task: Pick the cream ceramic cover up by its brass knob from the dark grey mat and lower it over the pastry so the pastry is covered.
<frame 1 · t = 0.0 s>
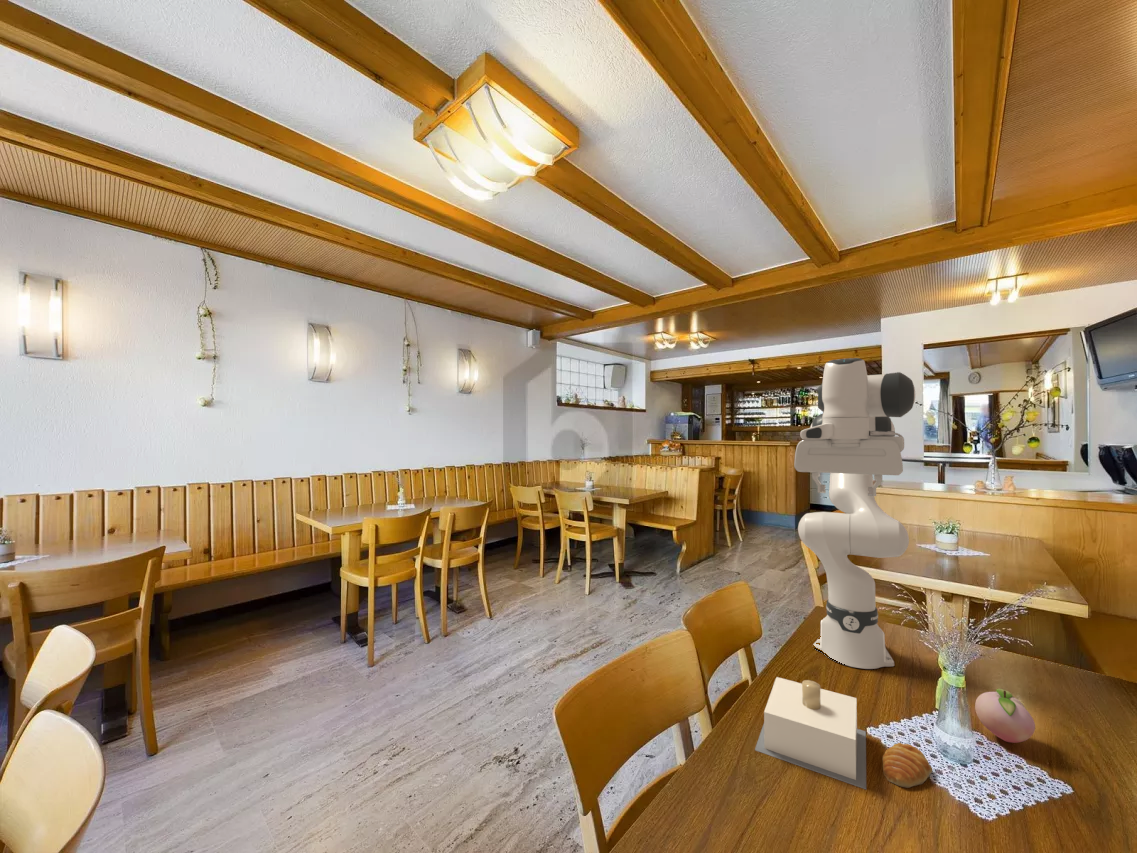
hand: (846, 494, 100), 48 cm above the table, tool pointing down, fingers open, 8 cm apart
decorative fruit: (1003, 741, 90), on the table
cover: (811, 740, 90), resting on mat
pastry: (906, 775, 82), on the table
mat: (811, 742, 90), on the table
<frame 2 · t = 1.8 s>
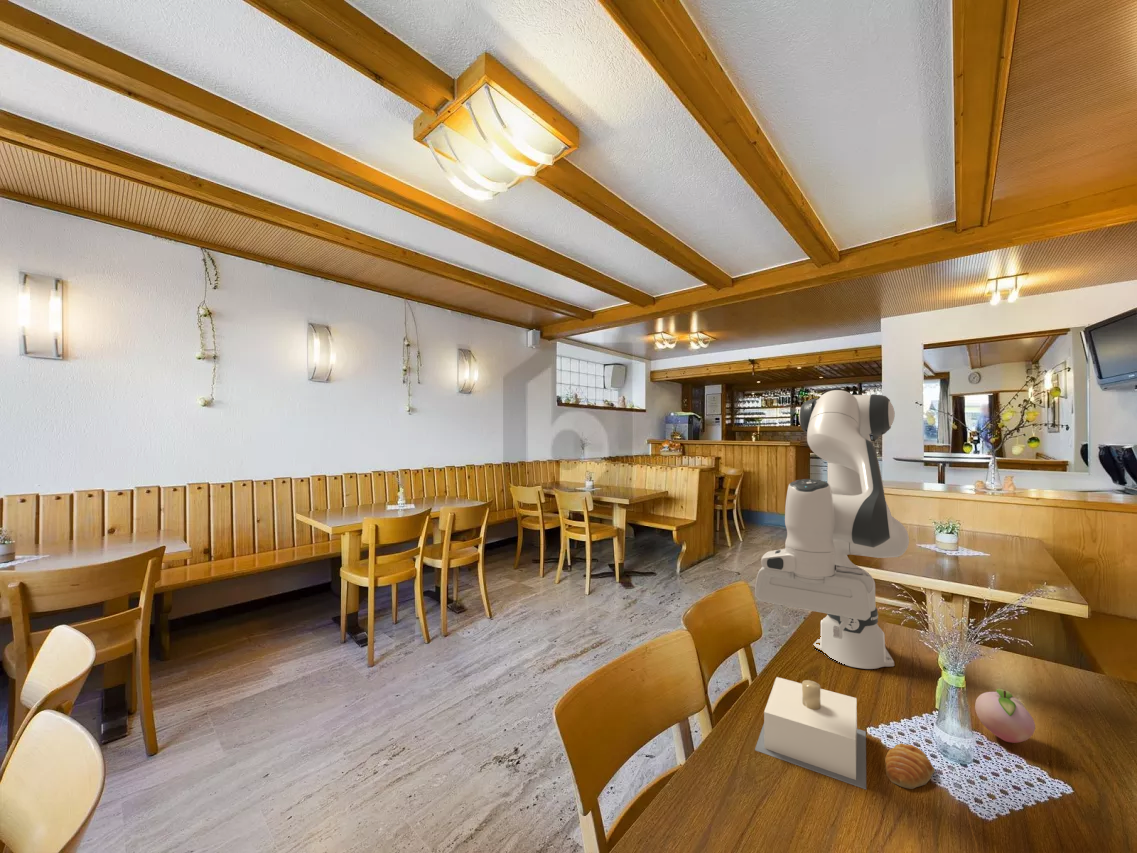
hand: (810, 631, 90), 22 cm above the table, tool pointing down, fingers open, 8 cm apart
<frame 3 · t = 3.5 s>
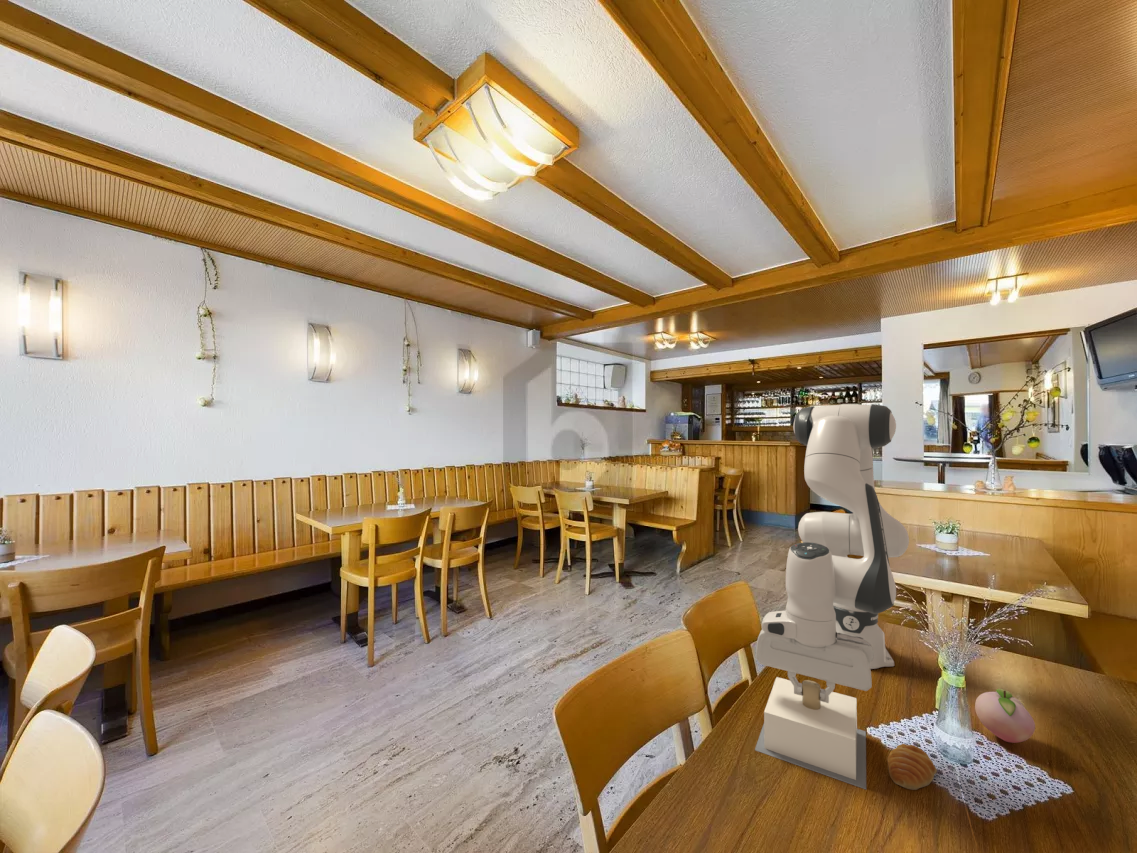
hand: (811, 697, 90), 9 cm above the table, tool pointing down, fingers closed on cover, 3 cm apart
cover: (811, 740, 90), resting on mat, touching gripper
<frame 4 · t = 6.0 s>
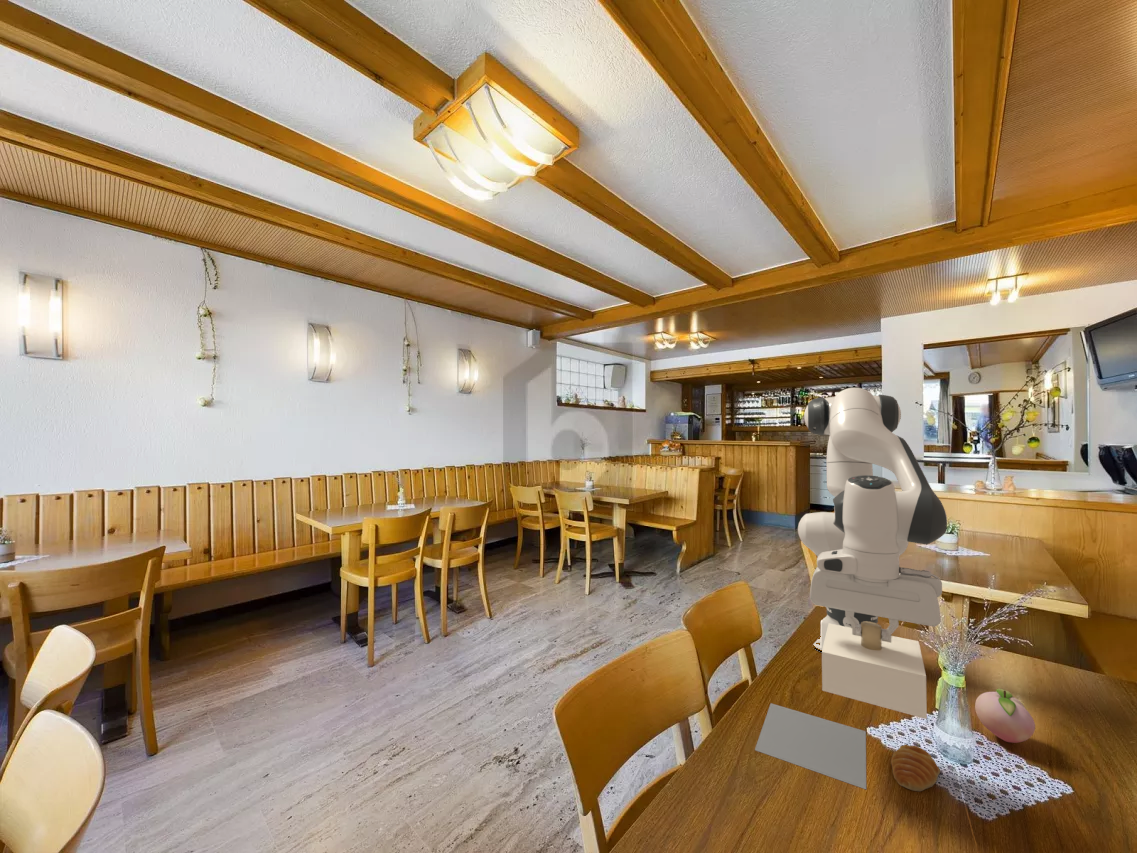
hand: (871, 637, 85), 23 cm above the table, tool pointing down, fingers closed on cover, 3 cm apart
cover: (871, 684, 85), point 15 cm above the table, touching gripper
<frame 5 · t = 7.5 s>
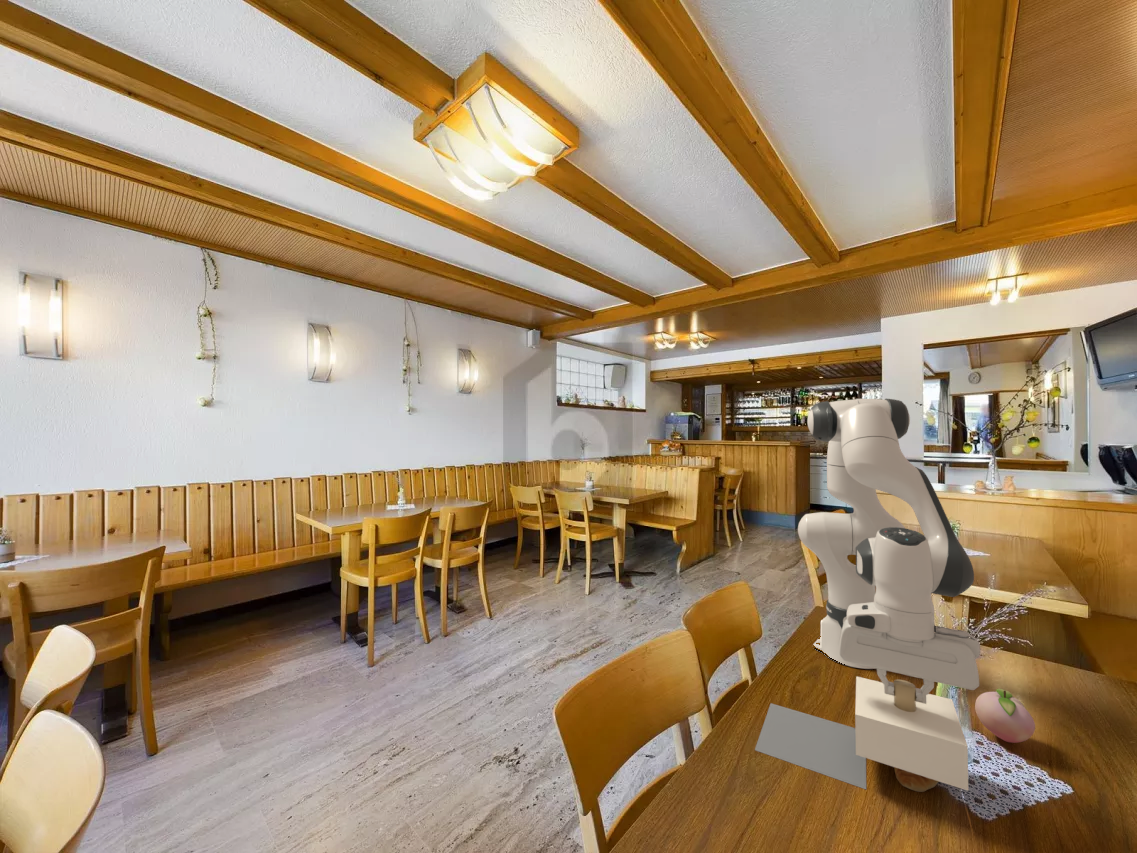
hand: (904, 697, 82), 14 cm above the table, tool pointing down, fingers closed on cover, 3 cm apart
cover: (905, 745, 82), point 5 cm above the table, touching gripper
when the fingers open (10 cm above the table, at t = 8.5 s): cover drops 1 cm, resting on mat.
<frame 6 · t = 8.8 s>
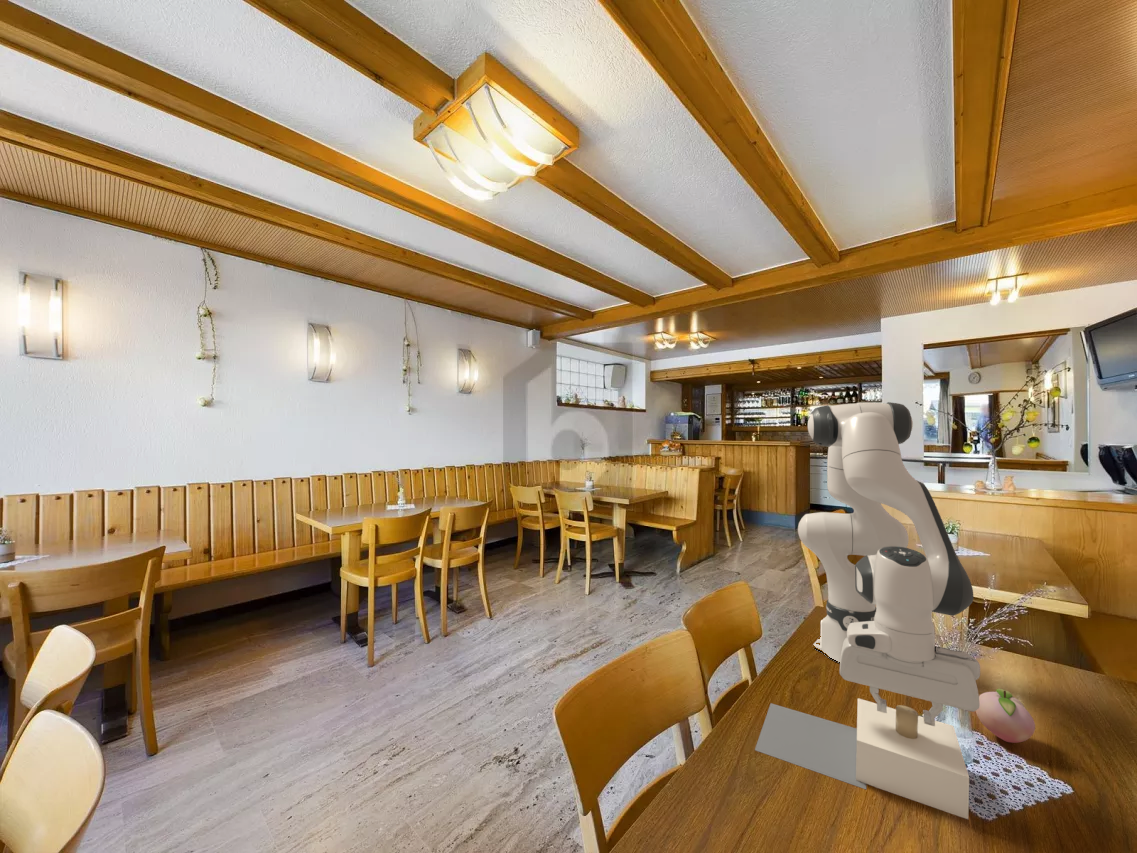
hand: (904, 716, 82), 10 cm above the table, tool pointing down, fingers open, 5 cm apart
cover: (905, 771, 82), resting on mat
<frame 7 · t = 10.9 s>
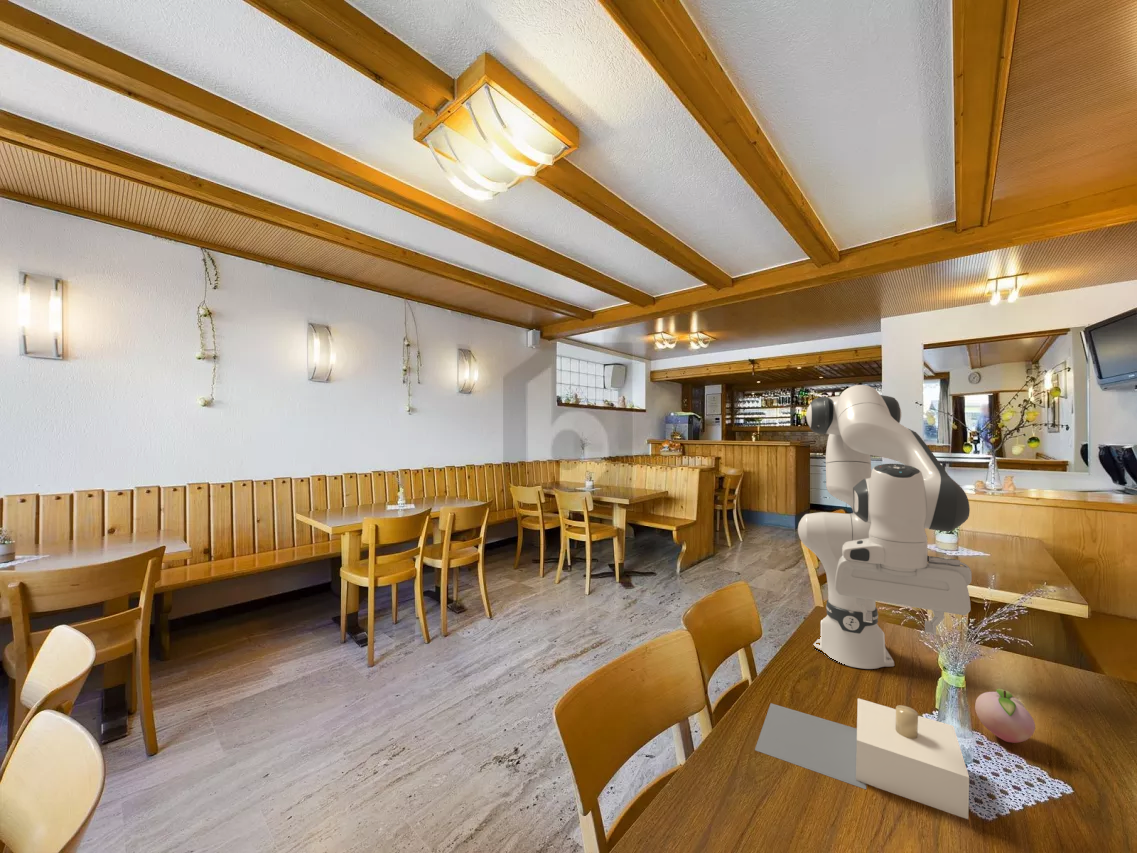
hand: (898, 627, 84), 25 cm above the table, tool pointing down, fingers open, 8 cm apart
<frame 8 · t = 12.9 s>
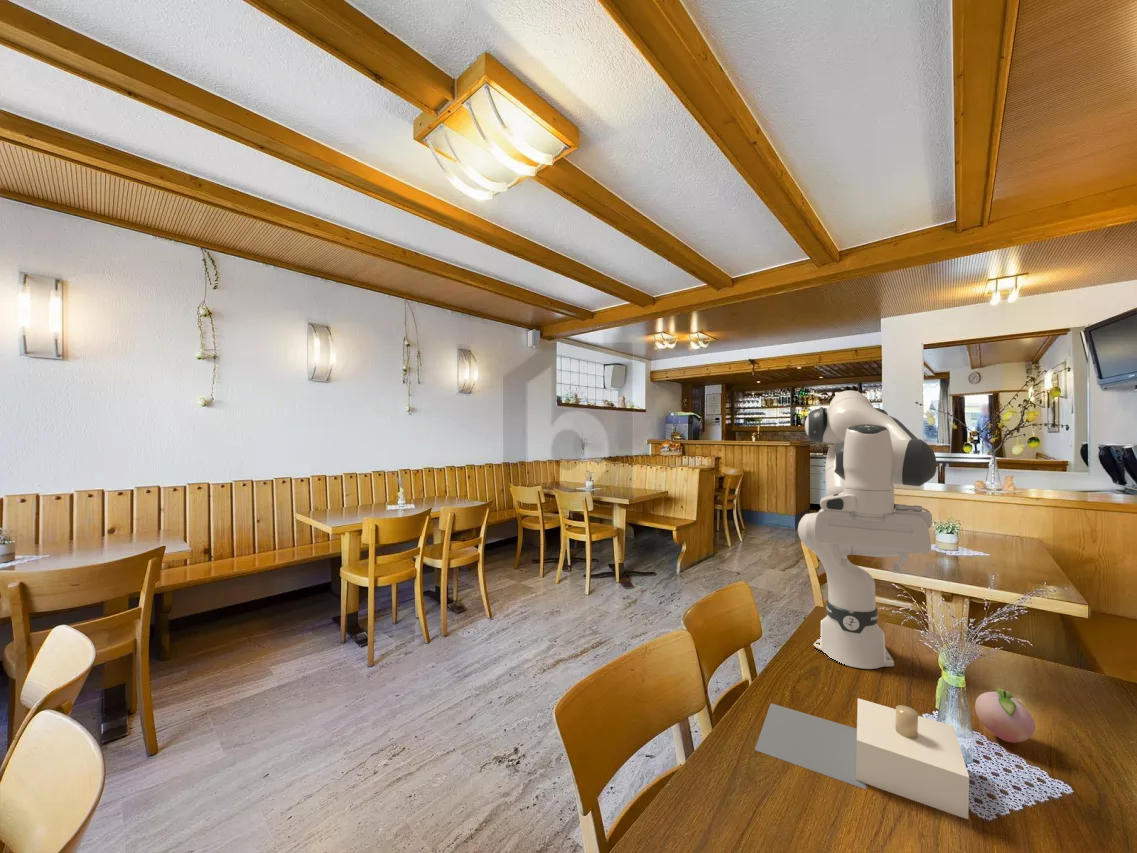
hand: (869, 569, 94), 33 cm above the table, tool pointing down, fingers open, 8 cm apart
at the end: cover 2.9 cm from the pastry (horizontally); cover on the table; cover tilted 2° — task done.
